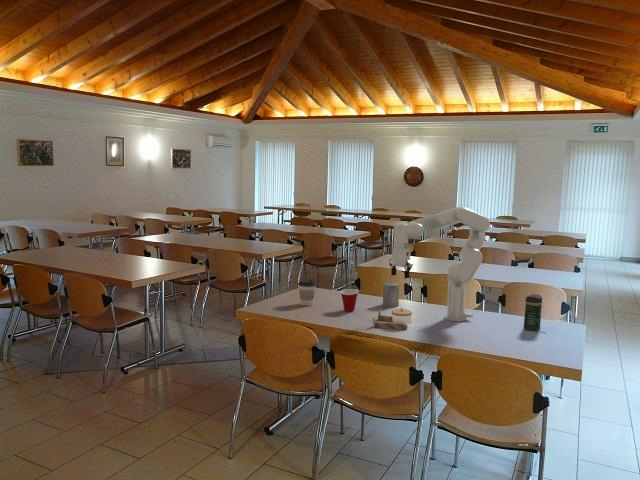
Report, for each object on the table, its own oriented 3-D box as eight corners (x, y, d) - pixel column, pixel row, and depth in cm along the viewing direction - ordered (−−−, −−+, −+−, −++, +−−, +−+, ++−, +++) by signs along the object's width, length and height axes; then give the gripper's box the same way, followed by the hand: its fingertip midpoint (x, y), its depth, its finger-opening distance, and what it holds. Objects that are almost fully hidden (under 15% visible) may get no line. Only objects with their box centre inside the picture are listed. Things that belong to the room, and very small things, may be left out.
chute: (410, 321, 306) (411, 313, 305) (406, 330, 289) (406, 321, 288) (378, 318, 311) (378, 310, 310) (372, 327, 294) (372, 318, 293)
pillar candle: (387, 302, 350) (388, 279, 348) (401, 305, 344) (402, 281, 342) (379, 305, 342) (380, 281, 340) (393, 308, 336) (394, 283, 334)
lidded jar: (415, 326, 297) (416, 309, 296) (400, 329, 291) (401, 311, 290) (401, 321, 306) (402, 305, 305) (387, 324, 300) (387, 307, 299)
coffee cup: (316, 307, 336) (316, 282, 334) (297, 306, 336) (297, 282, 334) (316, 302, 347) (316, 279, 345) (298, 302, 347) (298, 278, 346)
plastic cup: (336, 310, 328) (336, 290, 326) (347, 307, 336) (348, 288, 334) (350, 314, 320) (350, 293, 319) (361, 310, 328) (362, 290, 327)
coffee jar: (537, 332, 289) (540, 297, 287) (522, 329, 294) (524, 295, 291) (541, 328, 297) (544, 294, 295) (526, 325, 302) (528, 292, 299)
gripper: (417, 247, 299) (416, 278, 302) (394, 243, 313) (393, 273, 315) (408, 248, 295) (407, 279, 297) (384, 244, 308) (384, 274, 310)
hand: (400, 276), depth 306 cm, fingers open, 9 cm apart
